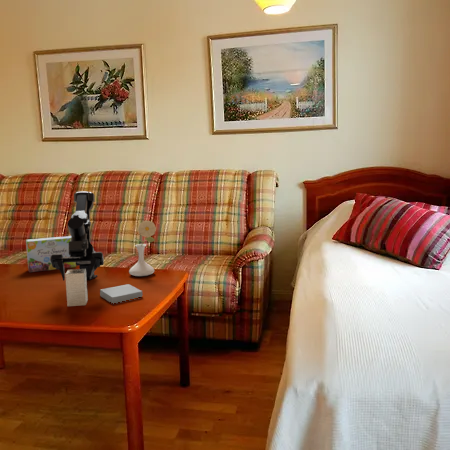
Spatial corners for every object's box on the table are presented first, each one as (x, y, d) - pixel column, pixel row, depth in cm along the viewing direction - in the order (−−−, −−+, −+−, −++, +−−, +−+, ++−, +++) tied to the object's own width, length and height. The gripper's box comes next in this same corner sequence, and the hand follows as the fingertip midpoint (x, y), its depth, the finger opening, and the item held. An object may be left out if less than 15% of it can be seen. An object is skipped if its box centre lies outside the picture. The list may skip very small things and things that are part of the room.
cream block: (70, 300, 166) (67, 269, 164) (87, 299, 167) (85, 268, 165) (67, 306, 160) (65, 274, 158) (85, 305, 161) (83, 273, 159)
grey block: (100, 297, 171) (99, 289, 171) (128, 291, 178) (128, 284, 178) (112, 305, 162) (112, 297, 161) (142, 298, 169) (142, 291, 168)
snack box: (29, 273, 206) (26, 241, 204) (28, 270, 211) (25, 239, 209) (76, 267, 216) (74, 236, 213) (74, 264, 221) (72, 235, 218)
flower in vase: (126, 278, 195) (123, 222, 191) (132, 271, 206) (130, 218, 203) (155, 278, 195) (153, 222, 191) (160, 271, 206) (158, 218, 202)
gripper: (49, 233, 164) (45, 269, 155) (101, 231, 168) (100, 266, 159) (54, 249, 173) (51, 285, 164) (104, 247, 176) (103, 281, 167)
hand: (76, 279), depth 163 cm, fingers open, 9 cm apart
